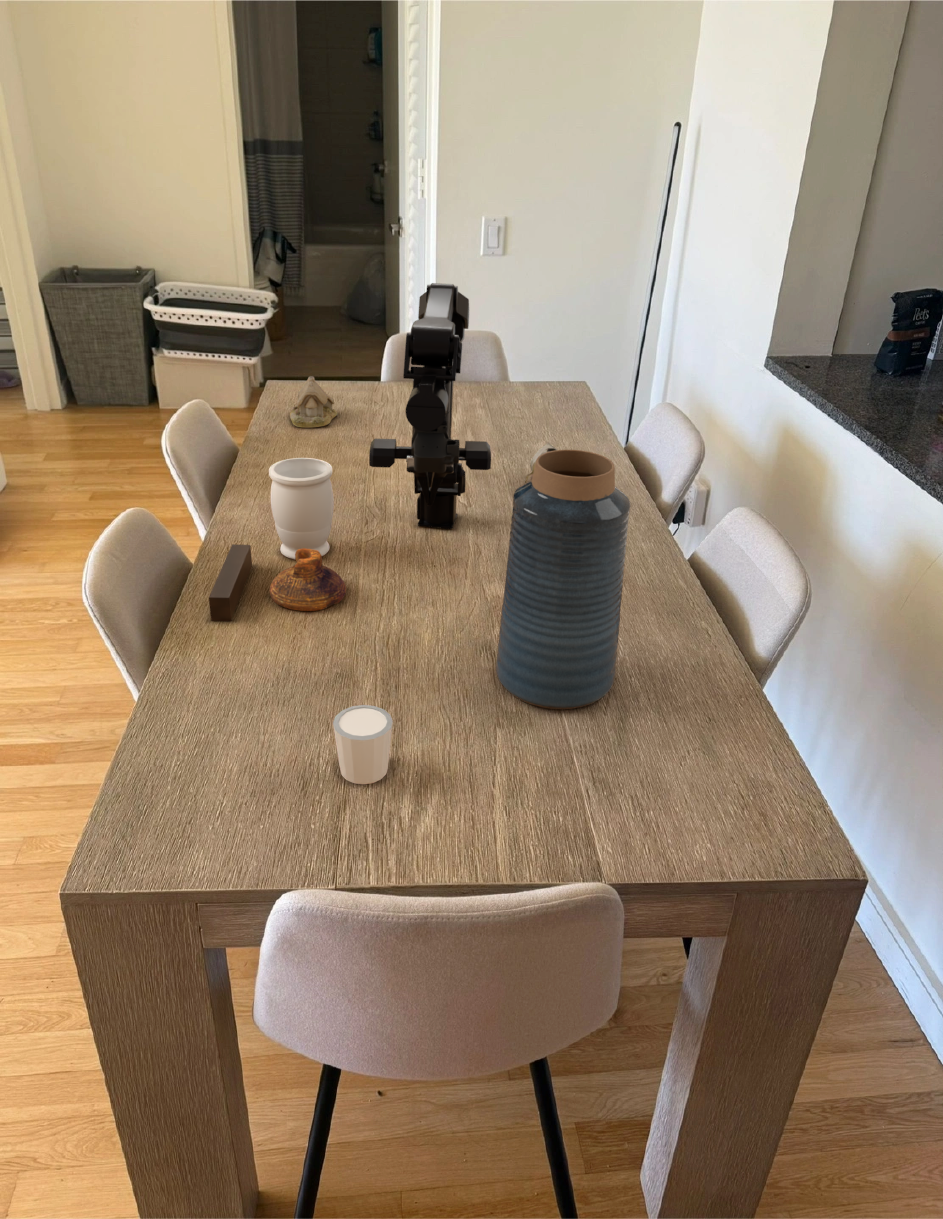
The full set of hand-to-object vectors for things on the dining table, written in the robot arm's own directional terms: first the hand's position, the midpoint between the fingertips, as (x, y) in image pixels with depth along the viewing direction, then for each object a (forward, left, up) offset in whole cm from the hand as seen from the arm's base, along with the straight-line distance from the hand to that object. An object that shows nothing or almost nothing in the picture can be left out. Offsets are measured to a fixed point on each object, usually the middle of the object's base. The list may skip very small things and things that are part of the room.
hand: (429, 504), depth 152 cm
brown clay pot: (+17, +12, -12) cm, 24 cm away
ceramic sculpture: (-17, -41, -12) cm, 46 cm away
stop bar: (+29, +14, -12) cm, 34 cm away
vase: (-23, +28, -12) cm, 38 cm away
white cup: (-2, +52, -12) cm, 53 cm away
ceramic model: (+41, -71, -12) cm, 83 cm away
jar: (+22, -3, -12) cm, 25 cm away
